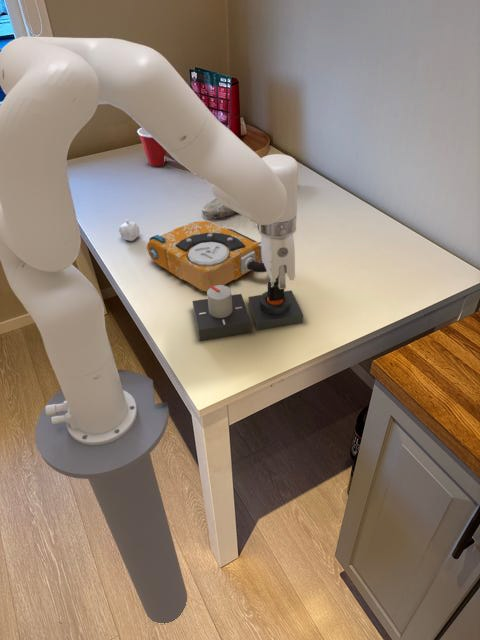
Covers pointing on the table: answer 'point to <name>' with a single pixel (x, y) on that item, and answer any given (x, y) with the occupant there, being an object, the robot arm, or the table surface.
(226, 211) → the elongated rock
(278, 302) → the power button
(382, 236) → the table surface
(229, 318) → the timer panel
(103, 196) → the table surface
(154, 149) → the plastic cup
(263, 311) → the button block
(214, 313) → the timer dial
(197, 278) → the device
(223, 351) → the table surface
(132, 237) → the garlic
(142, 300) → the table surface
